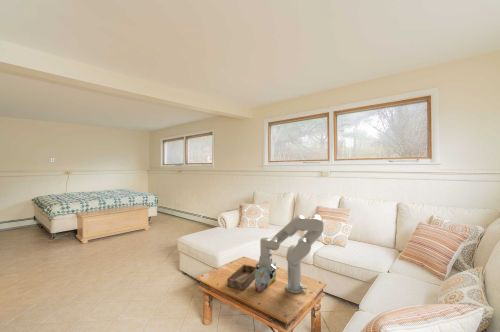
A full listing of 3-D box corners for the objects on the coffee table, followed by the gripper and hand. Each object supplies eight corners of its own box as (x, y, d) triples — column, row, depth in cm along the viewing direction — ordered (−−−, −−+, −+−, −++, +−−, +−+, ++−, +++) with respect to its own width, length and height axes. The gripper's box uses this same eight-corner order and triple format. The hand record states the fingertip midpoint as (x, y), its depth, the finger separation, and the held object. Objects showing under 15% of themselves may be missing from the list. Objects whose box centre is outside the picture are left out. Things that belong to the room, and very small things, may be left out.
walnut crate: (258, 274, 196) (258, 267, 195) (243, 290, 171) (243, 282, 171) (243, 271, 202) (243, 264, 201) (227, 286, 177) (227, 279, 177)
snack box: (261, 293, 168) (260, 272, 168) (254, 290, 171) (254, 270, 171) (276, 280, 185) (276, 261, 185) (270, 278, 188) (270, 260, 188)
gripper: (277, 254, 177) (278, 277, 178) (256, 251, 185) (257, 272, 185) (274, 258, 170) (274, 281, 171) (253, 254, 178) (253, 277, 178)
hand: (265, 277), depth 178 cm, fingers open, 8 cm apart
